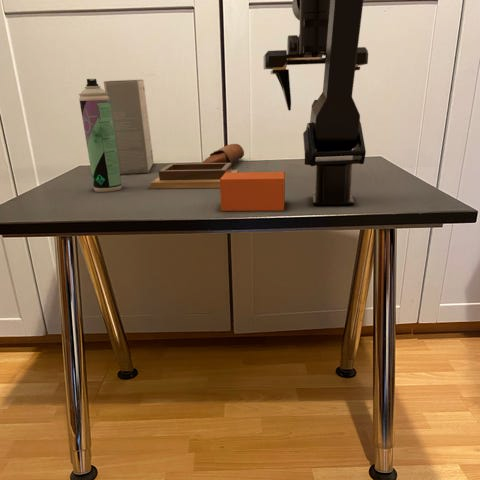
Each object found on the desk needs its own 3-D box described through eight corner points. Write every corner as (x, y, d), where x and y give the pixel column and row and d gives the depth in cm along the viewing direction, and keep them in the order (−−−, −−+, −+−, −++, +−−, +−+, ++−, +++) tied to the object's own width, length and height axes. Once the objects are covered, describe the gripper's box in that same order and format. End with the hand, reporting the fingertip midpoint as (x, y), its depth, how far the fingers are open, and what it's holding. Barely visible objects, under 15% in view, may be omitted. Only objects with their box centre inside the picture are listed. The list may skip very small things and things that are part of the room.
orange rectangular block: (283, 210, 76) (283, 178, 74) (221, 211, 77) (219, 179, 75) (284, 202, 81) (284, 171, 79) (226, 202, 83) (225, 172, 80)
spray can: (109, 185, 101) (93, 78, 92) (127, 187, 98) (112, 77, 89) (88, 190, 97) (69, 79, 88) (106, 192, 94) (88, 78, 85)
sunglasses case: (213, 157, 129) (224, 134, 126) (235, 171, 130) (247, 148, 127) (196, 168, 113) (208, 143, 110) (221, 184, 114) (235, 159, 111)
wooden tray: (230, 187, 94) (229, 171, 93) (151, 188, 96) (149, 173, 95) (238, 175, 107) (238, 161, 105) (168, 176, 109) (167, 162, 107)
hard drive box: (124, 165, 126) (113, 80, 118) (153, 163, 127) (144, 79, 118) (116, 175, 112) (102, 79, 104) (149, 173, 113) (138, 78, 104)
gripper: (356, 19, 94) (351, 106, 100) (261, 22, 94) (262, 110, 100) (372, 10, 84) (365, 108, 90) (265, 14, 83) (266, 111, 90)
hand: (313, 109), depth 93 cm, fingers open, 9 cm apart
